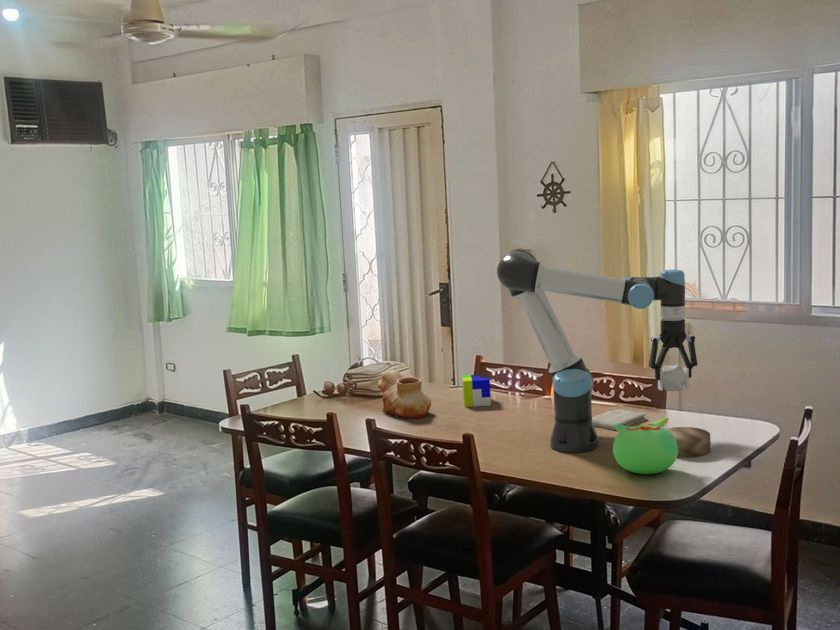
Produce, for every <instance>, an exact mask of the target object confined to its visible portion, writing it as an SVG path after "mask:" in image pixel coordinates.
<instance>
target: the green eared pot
mask: <svg viewBox="0 0 840 630" xmlns="http://www.w3.org/2000/svg"><path fill="white" fill-rule="evenodd" d="M669 419H670V418H669V417H664V418H661V419H659V420H656V421H655V422H653V423H640V424H639V423H638V424H637V423H635V424H632V425H630V426H624V425H621V424H614V425H613V426H614V428H615V429H616V430H615V431H617V432H618V434H617V435H616V436H615V437H614V438H615V439H613V445H612V454H613V457H614V459H615V461H616V462H617V464H618V465H620V467H622V468H623V469H625V470H626V471H629V472H630V473H634V474H639V475H653V474H658V473H661V472H664V471H666V470H668V469H669V468H671V467H672V466H673V465H674V464H675V462H676V461H677V458H678V457H677V455H678V445H677V441H676V439H675V437H674V436H673V435H672V434H671V433H670V432H669V431H668V430H666V429H667V428H664V426H665V425H666V424H667V423H668V422H669Z"/></svg>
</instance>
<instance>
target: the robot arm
mask: <svg viewBox="0 0 840 630" xmlns="http://www.w3.org/2000/svg"><path fill="white" fill-rule="evenodd" d="M496 275H497V278H498V281H499V282H500V284H501V285H502V286H503V287H505V288H506V289H508V290H509V293H510V296H511V297H512V298H513V299H516V300H518V301H519V303H520V305H521V308H522V309H523V311H524V313H525V315H526V318H527V320H528V322H529V324H530V325H531V328H532V330H533V331H534V333H535V336H536V338H537V340H538V342H539V344H540V346H541V348H542V350H543V353H544V354H545V357H546V359H547V360H548V362H549V364H550V366H549V369H548V373H549V375H550V377H551V379H552V388H553V389H552V390H553V405H554V407H553V409H554V410H553V411H554V412H553V413H554V425H553V427H552V432H551V435H550V438H549V445H550V446H549V447H550V448H551V449H552V450H555V451H557V452H564V453H584V452H590V451H594V450H595V449H597V448H598V447H599V446H600V445H599V442H600V441H599V436H598V434H597V431H596V428H595V426H594V425H593V422H592V417H593V412H592V411H593V408H592V407H593V406H592V394H593V389H594V383H595V382H594V376H593V374H592V372H591V370H589V368H587V367H586V364H585V362H584V360H583V358H582V357H581V355H578V354H575V352H574V350H573V348H572V346H571V344H570V342H569V340H568V337H567V336H566V334H565V333H566V332H565V331H564V330H563V327H562V325H561V323H560V321H559V319H558V317H557V315H556V313H555V311H554V309H553V307H552V304H551V303H550V300H549V299H548V296H547V294H546V293H545V292H550V293H556V294H561V295H568V296H573V297H574V296H575V297H579V298H586V299H590V300H598V301H603V302H604V301H605V302H610V303H616V304H621V305H626V306H631V307H634V308H635V309H639V310H643V309H646V308H648V307H649V306H650V305H651V304H652V303H653V302H654V301H659V302H660V319H661V320H660V334H659V336H656V337H654V336H652V337H650V342H651V348H650V355H649V361H648V367H649V368H651V370H654V378H655V380H656V381H657V389H658V390H659V391H662V392H663V391H664V387H663V381H662V379H661V378H662V375H663V370H662V369H661V368H662V367H663V363H664V361H665V359H666V356H667V355H668V352H669V350H670V349H674V348H675V349H678V352H679V354H680V356H681V359H682V361H683V362H684V365H685V367H684V366H683V368H682V369H683V371H684V372H685V373H686V374H687V376H688V377H687V380H686V382H685V385H684V387H683V389H685V390H688V389H689V388H690V385H689V384H690V381H689V379H691V378H692V370H693V368H694V367H697V366H698V359H697V358H698V357H697V352H696V347H695V346H696V345H695V340H696V336H695V335H692V334H687V333H686V319H685V318H686V279H685V271H683V270H682V269H663V270H661V271H660V273H659V275H658V276H641V277H639V276H638V277H635V276H631V277H623V278H618V277H611V276H606V275H605V276H604V275H598V274H593V273H587V272H582V271H576V270H570V269H564V268H557V267H551V266H545V264H544V263H543V262H541V261H538V260H537V258H536V257H535V256H534V254H532V253H531V252H529V251H526V250H524V249H514V250H513V251H510V252H508V253H506V255H505V256H504V257H503V258H501V259H500V261H499V263H498V264H497V267H496ZM685 340H686V342H687V346H688V352H689V356H688V354H687V352H686V349H685V346H684V342H685ZM660 342H661V343H662V345H661V349H660V352H659V354H658V349H659V344H660ZM657 355H658V357H657Z"/></svg>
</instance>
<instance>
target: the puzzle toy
mask: <svg viewBox="0 0 840 630" xmlns="http://www.w3.org/2000/svg"><path fill="white" fill-rule="evenodd" d="M461 378H462V379H461V380H462V391H463V392H462V393H463V394H462V395H463V396H462V397H463V405H464V408H468V407H472V406H473V407H485V406H488V407H489V406H492V398H491V397H492V396H491V381H490V380H491V379H490V376H489V373H484V374H465V375H461Z"/></svg>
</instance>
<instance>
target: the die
mask: <svg viewBox="0 0 840 630" xmlns="http://www.w3.org/2000/svg"><path fill="white" fill-rule="evenodd" d="M661 368H662V369H661V370H663V375H662V378H661V379H662V381H663V390H665V391H666V392H677V391H683V389H684V385H685V382H686V380H687V377H688V376H687V374H686V373H685V372H684V371H683V368H682V367H681V365H679V364H672V365H662V367H661Z"/></svg>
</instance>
